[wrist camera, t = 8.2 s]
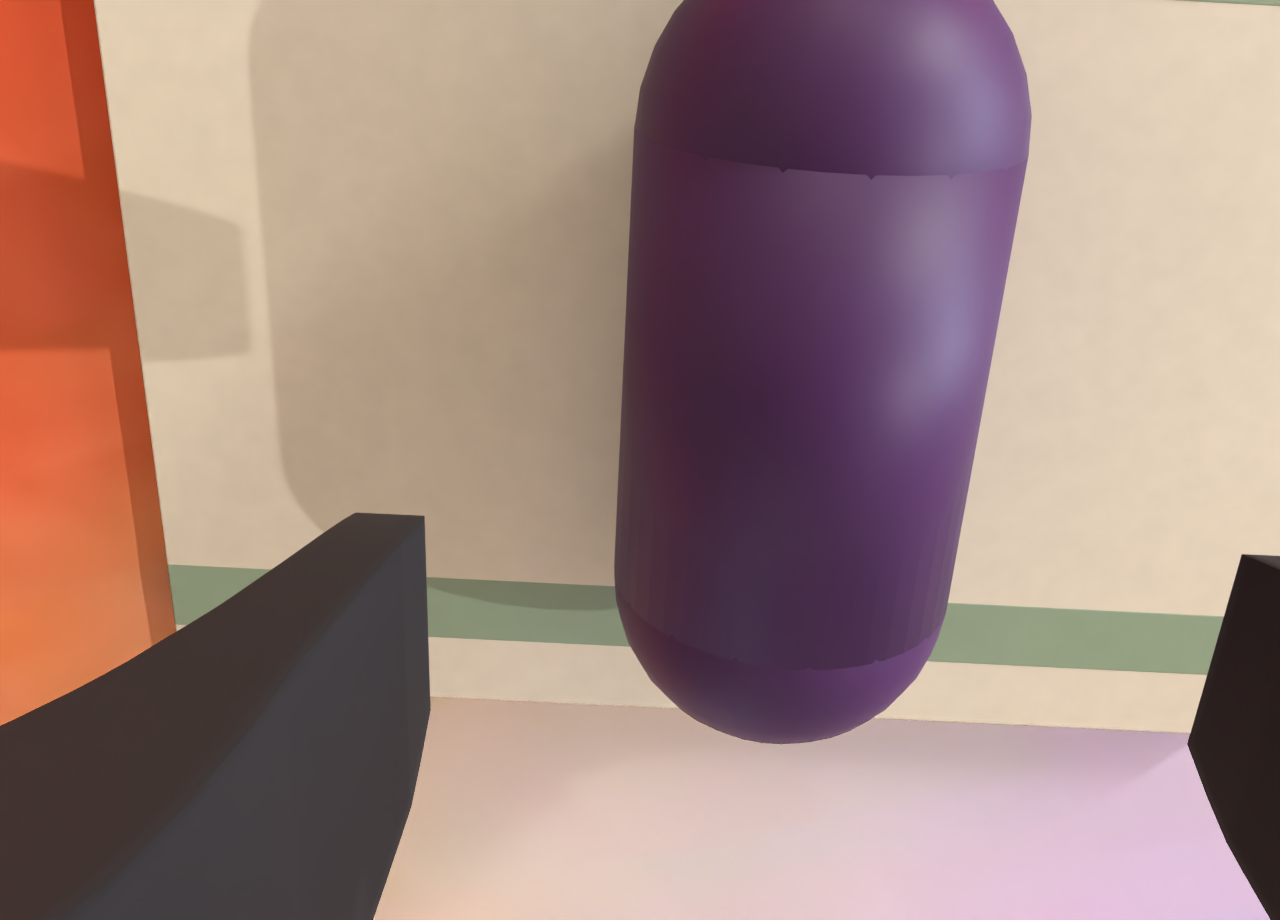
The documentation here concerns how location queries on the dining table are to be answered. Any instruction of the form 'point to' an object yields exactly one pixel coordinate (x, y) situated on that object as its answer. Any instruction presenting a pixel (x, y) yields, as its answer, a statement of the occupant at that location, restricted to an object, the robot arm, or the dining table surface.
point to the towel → (595, 331)
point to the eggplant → (809, 346)
